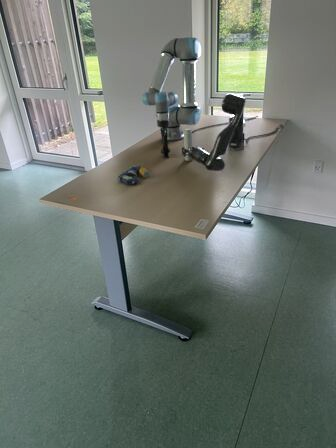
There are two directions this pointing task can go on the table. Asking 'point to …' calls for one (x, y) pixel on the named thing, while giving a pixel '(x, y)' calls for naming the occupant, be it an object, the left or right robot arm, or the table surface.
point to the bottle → (188, 142)
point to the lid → (163, 150)
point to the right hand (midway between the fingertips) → (186, 148)
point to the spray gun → (133, 172)
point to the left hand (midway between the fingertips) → (165, 155)
